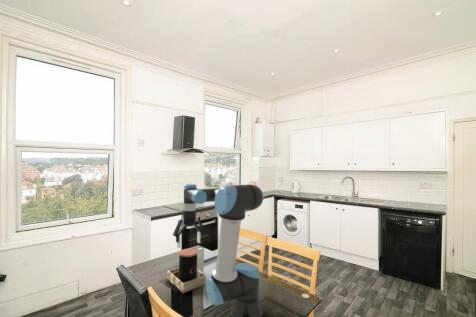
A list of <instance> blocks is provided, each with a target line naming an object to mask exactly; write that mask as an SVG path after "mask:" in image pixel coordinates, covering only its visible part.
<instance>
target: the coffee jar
mask: <svg viewBox="0 0 476 317" xmlns="http://www.w3.org/2000/svg"><path fill="white" fill-rule="evenodd" d="M178 253H179V254H178V255H179V257H178V258H179V259H178V268H179V280H180V281H181V282H183V283H185V282H188V281H191V280H193V279H196V278H197V269H198V250H197V249H195V248H184V249H181V250H180V251H179V252H178Z"/></svg>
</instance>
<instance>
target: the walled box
mask: <svg viewBox="0 0 476 317" xmlns="http://www.w3.org/2000/svg"><path fill="white" fill-rule="evenodd" d="M207 278H208V277H207V275H206V274H205V273H204V272H202V271H201V270H199V269H198V268H197V278H196V279H193V280H191V281H188V282H185V283H183V282H181V281H180V280H179V267H176V268H172V269H169V270H167V271H166V280H167V279H168V280H169V281H170V282H171V284H172V285H173V284H174V285H175V286H176V287H177V288H178V289H179V290H180V291H181V292H182V293H181V292H180V291H179V290H178V289H177V288H176V287H175V286H174V285H173V286H174V287H175V288H176V289H177V290H178V291H179V292H180V293H181V294H185V293H188V292H190V291H193V290H195V289H198V288H199V287H202V286H206V279H207ZM168 280H167V281H168ZM169 281H168V282H169ZM170 282H169V283H170Z"/></svg>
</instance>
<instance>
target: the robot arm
mask: <svg viewBox="0 0 476 317" xmlns="http://www.w3.org/2000/svg"><path fill="white" fill-rule="evenodd" d="M263 201H264V193H263V191H262V189H261V188H260V187H259V186H258V185H255V184H234V185H233V184H229V185H224V186H221V187H218V188H217V187H215V188H200V189H198V187H197V184H193V183H188V184H185V185H184V186H183V218H182V219H181V218H179V219H178V220H177V221H178V222H177V224H176V227H175V228H174V231H173V233H172V236H173V237H175V242H176V248H178V249H181V243H182V242H181V241H182V240H181V239H182V238H181V235H182V233H183V232H184V230H185V229H186V228H187V227H189V226H194V228H195V229H196V230H197V232H196V234H197V235H196V242H197V243H198V244H201V238H202V233H203V231H205V228H204V224H203V222H202V221H201V216H198V215H197V210H196V209H197V205H198V204H200V205H201V204H204V203H207V202H208V203H209V202H214V209H215V211H216V213H218V217H219V218H220V219H221V221H220V227H219V228H220V230H219V237H218V238H219V239H218V246H217V255H216V262H215V263H216V265H215V267H214V268H213V269H211V270H212V271H211V276H209V277H207V279H206V284H205V290H206V294H207V296H208V299H209V302H211V304H212V305H214V306H220V305H224V304H226V303H228V302H231V301H232V302H233V303H232V304H231V308H230V309H231V310H230V315H231V317H261V315H262V316H263V309H262V304H261V301H260V297H259V296H260V277H261V276H260V270H259V268H258V267H257V265H256V266H255V265H253V264H251V263H247V262H239V263H237V262H236V261H237V255H238V254H237V253H238V248H239V239H240V230H241V224H242V223H241V222H242V221H244V220H245V219H246V212H251V211H254V210H257V209H258V208H260V207H261V205H262V204H263V203H264V202H263ZM196 221H197V222H196ZM236 263H237V264H236Z"/></svg>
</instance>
